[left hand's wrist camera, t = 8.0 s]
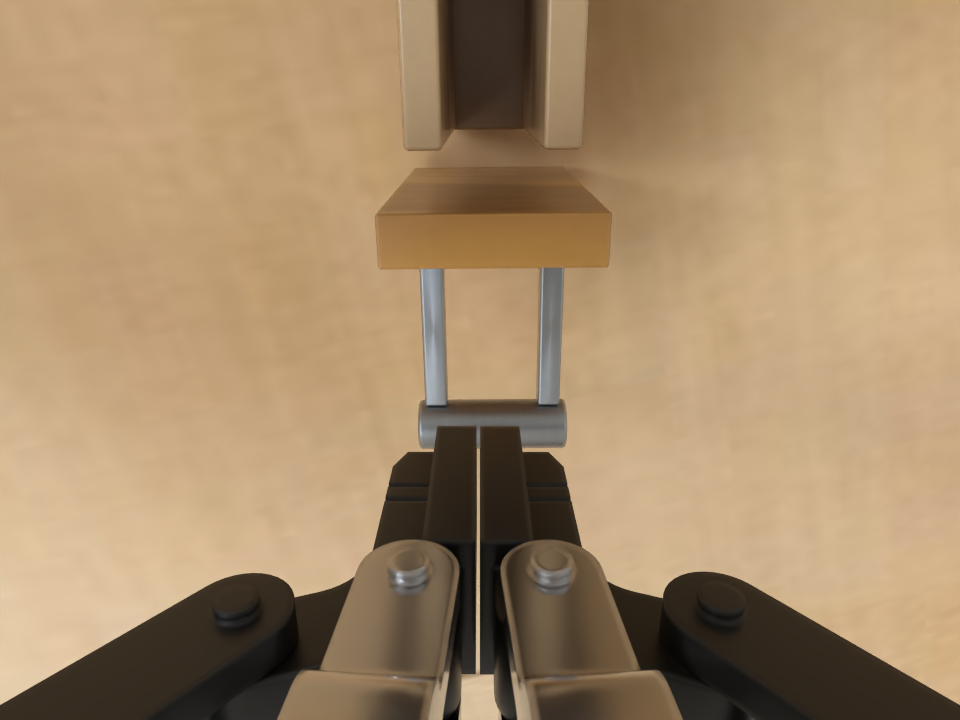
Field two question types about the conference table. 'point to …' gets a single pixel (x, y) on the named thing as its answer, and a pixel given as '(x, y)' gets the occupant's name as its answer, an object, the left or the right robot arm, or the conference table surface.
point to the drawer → (493, 184)
